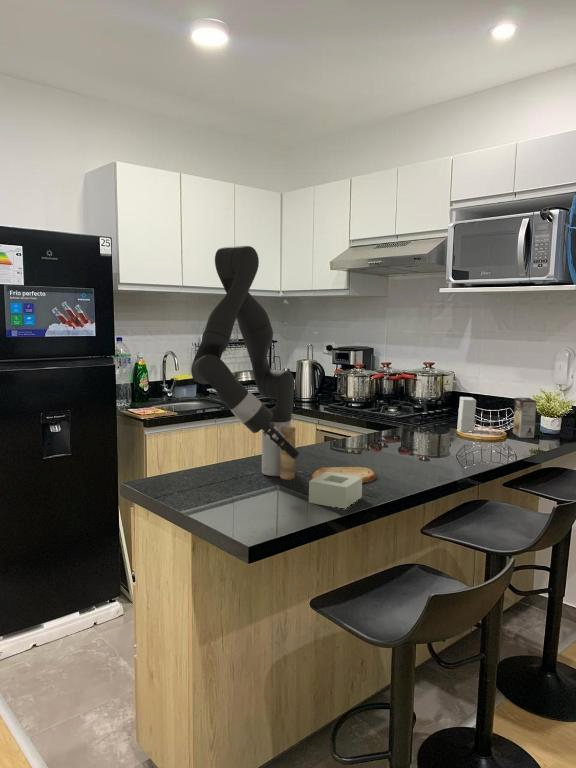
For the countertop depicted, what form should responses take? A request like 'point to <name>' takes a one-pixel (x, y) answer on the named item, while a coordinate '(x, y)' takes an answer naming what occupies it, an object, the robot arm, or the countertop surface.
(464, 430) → the skincare box
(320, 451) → the countertop surface
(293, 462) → the dowel
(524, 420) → the coffee box
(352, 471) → the slice of bread
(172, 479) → the countertop surface
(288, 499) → the countertop surface
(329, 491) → the holder
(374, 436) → the countertop surface
